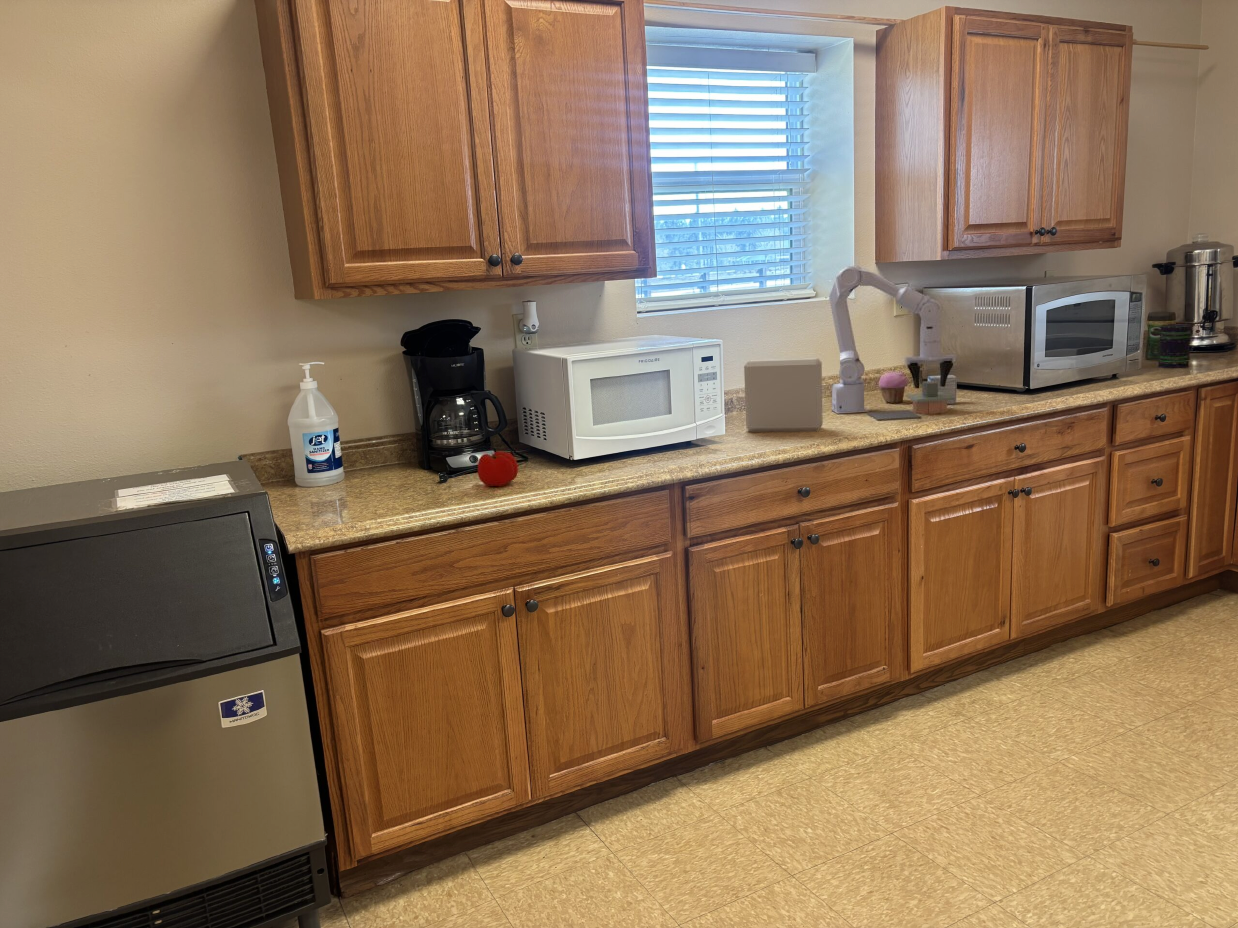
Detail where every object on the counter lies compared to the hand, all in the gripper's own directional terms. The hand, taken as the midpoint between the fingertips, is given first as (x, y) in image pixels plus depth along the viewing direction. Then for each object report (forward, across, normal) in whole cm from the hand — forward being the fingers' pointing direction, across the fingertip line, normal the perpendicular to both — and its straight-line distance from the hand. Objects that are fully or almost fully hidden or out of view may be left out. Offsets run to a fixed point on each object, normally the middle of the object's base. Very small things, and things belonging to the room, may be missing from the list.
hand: (929, 387), depth 268 cm
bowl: (+7, 0, 0) cm, 7 cm away
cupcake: (+8, -5, +21) cm, 23 cm away
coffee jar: (+7, +117, +86) cm, 145 cm away
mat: (+7, -12, -4) cm, 15 cm away
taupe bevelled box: (+8, -46, -15) cm, 49 cm away
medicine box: (+8, +8, +13) cm, 17 cm away
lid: (+3, 0, 0) cm, 3 cm away
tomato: (+8, -121, -63) cm, 137 cm away
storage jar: (+7, +109, +63) cm, 126 cm away
